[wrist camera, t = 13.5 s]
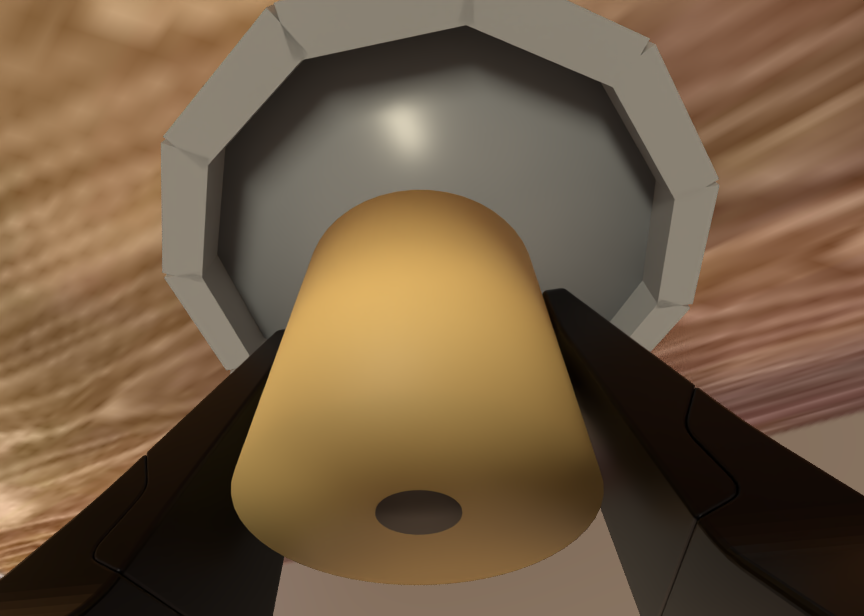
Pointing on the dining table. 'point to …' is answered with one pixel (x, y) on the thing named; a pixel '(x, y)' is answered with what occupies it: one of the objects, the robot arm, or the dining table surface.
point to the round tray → (435, 154)
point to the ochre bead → (418, 405)
